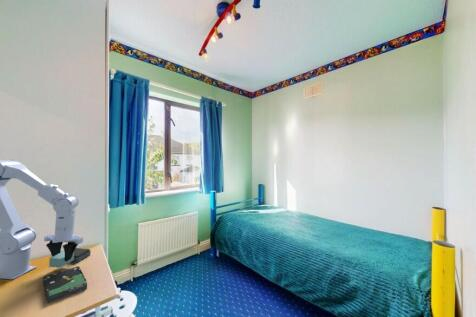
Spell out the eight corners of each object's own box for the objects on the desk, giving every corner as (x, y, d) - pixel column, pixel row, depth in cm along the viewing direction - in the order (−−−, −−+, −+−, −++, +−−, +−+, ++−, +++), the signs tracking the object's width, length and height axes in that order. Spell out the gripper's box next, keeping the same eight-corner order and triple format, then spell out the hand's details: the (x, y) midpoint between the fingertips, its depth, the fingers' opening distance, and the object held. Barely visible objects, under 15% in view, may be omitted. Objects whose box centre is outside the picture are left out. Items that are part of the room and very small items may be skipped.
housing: (49, 266, 75) (49, 258, 75) (64, 258, 81) (64, 250, 82) (60, 267, 75) (60, 258, 75) (74, 259, 81) (75, 251, 81)
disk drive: (42, 284, 70) (47, 305, 60) (42, 276, 70) (47, 296, 60) (78, 272, 78) (87, 289, 68) (78, 265, 78) (88, 281, 68)
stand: (59, 261, 83) (60, 254, 83) (73, 253, 90) (74, 247, 90) (77, 262, 83) (77, 256, 83) (90, 254, 90) (90, 249, 90)
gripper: (37, 228, 75) (34, 263, 74) (73, 231, 74) (70, 266, 74) (55, 222, 82) (52, 254, 81) (88, 225, 81) (85, 257, 81)
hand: (62, 259), depth 78 cm, fingers closed on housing, 4 cm apart
